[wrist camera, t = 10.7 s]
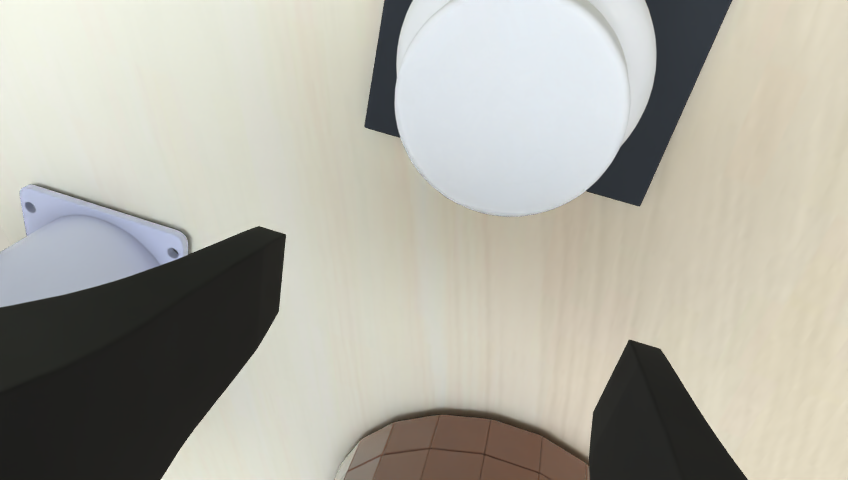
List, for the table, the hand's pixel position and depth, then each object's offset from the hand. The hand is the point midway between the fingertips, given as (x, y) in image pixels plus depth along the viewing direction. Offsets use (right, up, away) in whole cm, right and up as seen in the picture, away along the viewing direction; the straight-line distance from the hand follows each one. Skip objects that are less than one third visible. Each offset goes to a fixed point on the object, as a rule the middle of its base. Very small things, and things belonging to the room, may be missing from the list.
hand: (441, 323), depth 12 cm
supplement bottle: (+3, +9, +6) cm, 11 cm away
